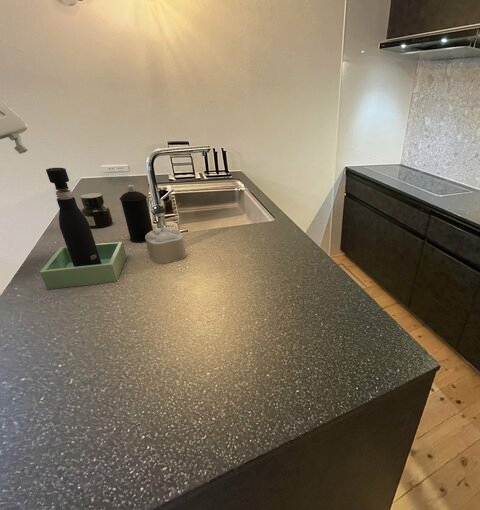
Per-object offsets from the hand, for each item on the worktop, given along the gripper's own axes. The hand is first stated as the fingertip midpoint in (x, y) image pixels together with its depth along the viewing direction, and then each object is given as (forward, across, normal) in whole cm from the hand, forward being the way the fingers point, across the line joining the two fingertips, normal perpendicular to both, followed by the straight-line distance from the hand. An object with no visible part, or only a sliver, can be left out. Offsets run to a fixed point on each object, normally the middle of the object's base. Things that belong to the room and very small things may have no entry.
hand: (5, 158), depth 78 cm
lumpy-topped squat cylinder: (+43, -12, +5) cm, 45 cm away
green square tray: (+34, +5, -4) cm, 35 cm away
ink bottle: (+26, -23, -33) cm, 48 cm away
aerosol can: (+37, -19, -11) cm, 43 cm away
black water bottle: (+34, +5, -4) cm, 34 cm away
